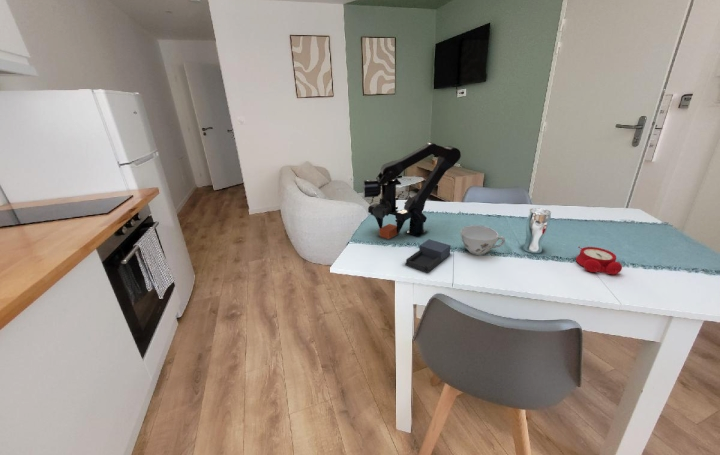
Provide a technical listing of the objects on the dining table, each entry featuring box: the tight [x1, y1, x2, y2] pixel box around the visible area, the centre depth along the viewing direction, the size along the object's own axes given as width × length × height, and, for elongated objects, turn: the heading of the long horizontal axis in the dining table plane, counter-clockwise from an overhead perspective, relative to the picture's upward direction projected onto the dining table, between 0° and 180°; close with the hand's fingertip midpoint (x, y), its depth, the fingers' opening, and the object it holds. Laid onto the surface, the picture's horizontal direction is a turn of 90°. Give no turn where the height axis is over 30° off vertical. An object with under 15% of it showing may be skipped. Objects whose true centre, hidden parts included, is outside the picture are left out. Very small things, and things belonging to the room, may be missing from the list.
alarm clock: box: [575, 246, 623, 275], centre depth 93 cm, size 10×6×15 cm
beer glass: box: [522, 207, 552, 254], centre depth 104 cm, size 7×7×15 cm
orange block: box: [378, 223, 400, 240], centre depth 124 cm, size 7×5×4 cm
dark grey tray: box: [404, 238, 452, 274], centre depth 102 cm, size 16×9×4 cm, turn 138°
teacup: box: [460, 224, 506, 256], centre depth 105 cm, size 15×12×8 cm
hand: (389, 230), depth 123 cm, fingers open, 9 cm apart
